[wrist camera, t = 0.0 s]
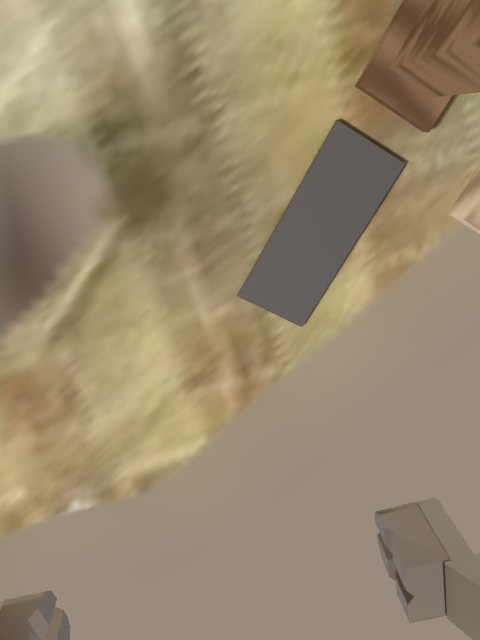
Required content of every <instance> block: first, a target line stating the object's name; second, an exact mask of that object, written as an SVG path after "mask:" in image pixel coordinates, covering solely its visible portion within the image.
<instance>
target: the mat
mask: <svg viewBox="0 0 480 640" xmlns="http://www.w3.org/2000/svg"><path fill="white" fill-rule="evenodd" d="M404 165H405V163H403V162H402V161H400V160H399V159H397V158H396V157H394V156H393V155H391V154H389V153H388V152H386V151H385V150H383V149H382V148H380V147H378V146H377V145H375V144H374V143H372V142H371V141H369V140H368V139H366V138H364V137H363V136H361V135H360V134H358V133H357V132H355V131H353V130H352V129H350V128H349V127H347V126H346V125H344V124H342V123H341V122H339V121H338V120H336V121H335V123H334V125H333V126H332V128H331V130H330V132H329V133H328V135H327V137H326V139H325V141H324V142H323V144H322V146H321V148H320V149H319V151H318V153H317V155H316V156H315V158H314V160H313V162H312V164H311V165H310V167H309V169H308V171H307V172H306V174H305V176H304V178H303V180H302V181H301V183H300V185H299V187H298V188H297V190H296V192H295V194H294V196H293V197H292V199H291V201H290V203H289V204H288V206H287V208H286V210H285V212H284V213H283V215H282V217H281V219H280V220H279V222H278V224H277V226H276V227H275V229H274V231H273V233H272V235H271V236H270V238H269V240H268V242H267V243H266V245H265V247H264V249H263V251H262V252H261V254H260V256H259V258H258V259H257V261H256V263H255V265H254V267H253V268H252V270H251V272H250V274H249V275H248V277H247V279H246V281H245V283H244V284H243V286H242V288H241V290H240V291H239V293H238V297H240V298H242V299H244V300H247V301H249V302H251V303H253V304H255V305H257V306H259V307H261V308H263V309H265V310H267V311H270V312H272V313H274V314H276V315H278V316H280V317H282V318H284V319H286V320H288V321H290V322H293V323H295V324H297V325H299V326H301V327H302V326H303V325H304V323H305V322H306V320H307V318H308V317H309V315H310V314H311V312H312V311H313V309H314V307H315V306H316V304H317V303H318V301H319V299H320V298H321V296H322V295H323V293H324V292H325V290H326V288H327V287H328V285H329V284H330V282H331V280H332V279H333V277H334V276H335V274H336V273H337V271H338V269H339V268H340V266H341V265H342V263H343V262H344V260H345V258H346V257H347V255H348V254H349V252H350V250H351V249H352V247H353V246H354V244H355V243H356V241H357V239H358V238H359V236H360V235H361V233H362V231H363V230H364V228H365V227H366V225H367V224H368V222H369V220H370V219H371V217H372V216H373V214H374V213H375V211H376V209H377V208H378V206H379V205H380V203H381V201H382V200H383V198H384V197H385V195H386V194H387V192H388V190H389V189H390V187H391V186H392V184H393V182H394V181H395V179H396V178H397V176H398V175H399V173H400V171H401V170H402V168H403V167H404Z"/></svg>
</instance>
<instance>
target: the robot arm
mask: <svg viewBox="0 0 480 640" xmlns="http://www.w3.org/2000/svg"><path fill="white" fill-rule="evenodd" d="M375 523H376V525H377V527H378V529H379V534H378V535H377V538H378V544H379V548H380V552H381V555H382V559H383V562H384V564H385V567H386V569H387V572H388V574H389V577H390V578H392V579H393V580H395V581H396V587H397V595H398V597H399V600H400V602H401V604H402V606H403V609H404V611H405V613H406V616H407V618H408V620H409V622H410V623H413V622H418V621H423V620H428V619H432V618H438V617H442V616H447V618H448V619H449V620H450V621H451V622H452V623H454V624H455V625H456V626H457V627H458V628H459V629H461V630H462V631H463V632H464V633H465V634H466V635H468V636H469V637H470V638H471V639H472V640H480V554H476V555H474V553H473V552H472V550H471V549H470V547H469V546H468V544H467V543H466V541H465V539H464V538H463V536H462V535H461V533H460V532H459V530H458V529H457V527H456V526H455V524H454V523H453V521H452V520H451V518H450V517H449V515H448V514H447V512H446V511H445V509H444V508H443V506H442V504H441V503H440V501H439V500H437V499H436V498H431V499H427V500H423V501H418V502H415V503H413V502H412V503H408V504H404V505H401V506H397V507H393V508H389V509H385V510H381V511H377V512H375ZM56 600H57V598H56V597H55V596H54V594H53V593H52V591H46V592H41V593H36V594H31V595H26V596H22V597H17V598H12V599H8V600H4V601H0V640H70V625H69V621H68V617H67V615H66V614H65V612H64V611H63V610H61V609H59V608H57V607H55V604H56Z"/></svg>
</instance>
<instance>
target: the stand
mask: <svg viewBox="0 0 480 640" xmlns="http://www.w3.org/2000/svg"><path fill="white" fill-rule="evenodd" d="M355 87H357V88H358V89H360V90H361V91H363V92H364V93H366V94H367V95H369V96H370V97H372V98H373V99H375V100H376V101H378V102H379V103H381V104H382V105H384V106H385V107H387V108H388V109H390V110H391V111H393V112H394V113H396V114H397V115H399V116H400V117H402V118H403V119H405V120H406V121H408V122H409V123H410V124H412V125H413V126H415V127H416V128H418V129H419V130H421V131H422V132H429V131H430V130H431V128H432V127H433V125H434V124H435V122H436V120H437V119H438V117H439V116H440V114H441V113H442V111H443V109H444V108H445V106H446V105H447V103H448V102H449V100H450V98H451V97H452V95H459V94H468V93H477V92H480V0H403V2H402V4H401V6H400V7H399V9H398V11H397V13H396V14H395V16H394V18H393V20H392V22H391V23H390V25H389V27H388V29H387V30H386V32H385V34H384V36H383V38H382V39H381V41H380V43H379V45H378V46H377V48H376V50H375V52H374V54H373V55H372V57H371V59H370V61H369V62H368V64H367V66H366V68H365V70H364V71H363V73H362V75H361V77H360V78H359V80H358V82H357V84H356V85H355Z"/></svg>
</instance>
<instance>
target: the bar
mask: <svg viewBox="0 0 480 640" xmlns="http://www.w3.org/2000/svg"><path fill="white" fill-rule="evenodd" d="M447 214H448V215H449V216H451V217H453V218H454V219H456V220H457V221H459V222H461V223H462V224H464V225H465V226H467V227H469V228H470V229H472V230H474V231H475V232H477V233H478V234H480V167H479V168H478V170H477V171H476V173H475V174H474V176H473V177H472V179H471V180H470V182H469V183H468V184H467V186H466V187H465V189H464V190H463V192H462V193H461V195H460V196H459V198H458V199H457V200H456V202H455V203H454V205H453V206H452V208H451V209H450V211H449V212H448V213H447Z"/></svg>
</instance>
